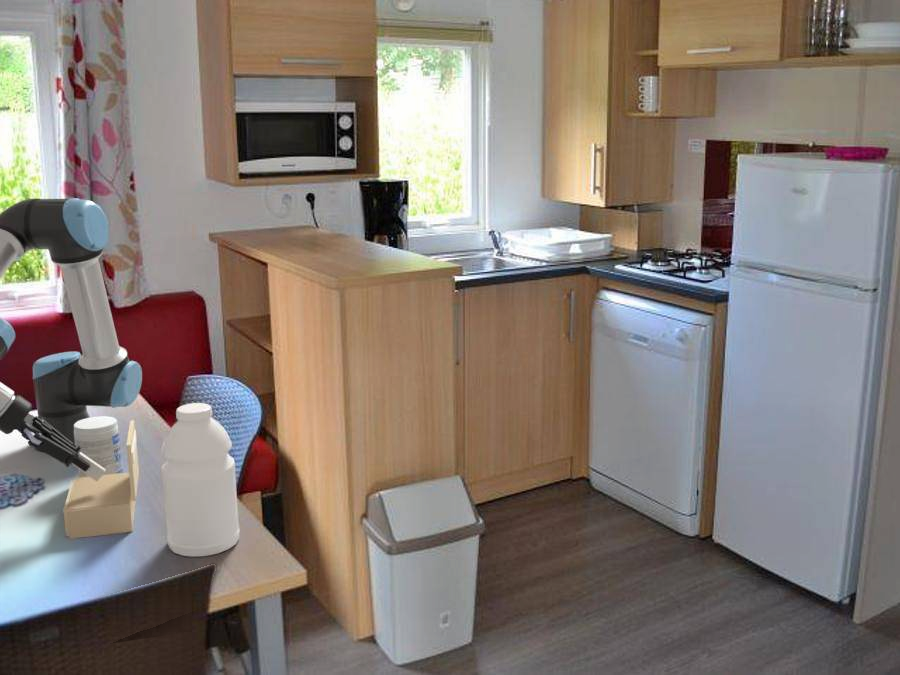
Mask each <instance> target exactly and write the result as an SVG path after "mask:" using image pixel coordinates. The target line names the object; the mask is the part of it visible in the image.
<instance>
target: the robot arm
mask: <svg viewBox="0 0 900 675" xmlns="http://www.w3.org/2000/svg"><path fill="white" fill-rule="evenodd" d="M109 232H110V228H109V222H108V219H107V217H106V213H105V212H104V211H103V209H102V208H101V207H100V205H99V204H97V203H95V202H94V201H92V200H89V199H80V198H77V197H76V198H75V197H73V198H28V199H24V200H21V201H19V202H16V203H14V204H13V205H11V206H9V207H8V208H6V209H5V210H3V211H2V212H1V213H0V280H1V279H2V277H3V276H4V275H5V273H7V272H6V271H7V270H8V269H9V267H10V266H11V265H12V263H13V262H17V261H19V260H20V259H21V258H23V256H24V255H25V253H27V252H30V251H32V250H47V251H48V252H49V256H50V259H51V262H52V263H54V264H55V265H56V266H59V267H60V271H61V273H62V274H61V275H62V278H63V282H64V286H65V290H66V294H67V296H68V297H67V298H68V301H69V304H70V308H71V313H72V317H73V320H74V324H75V328H76V332H77V336H78V340H79V344H80V347H81V351H82V354H81V353H80V351H64V352H59V353H53V354H50V355H47V356H43V357H40V358H39V359H37V360H36V361H34V362H33V365H32V380H33V387H34V394H35V402H36V409H37V410H36V411H37V416H34V415H32V414H31V413H30V412H31V411H32V408H33V404H32V403H31V402H29V400H27V399H25V398H24V397H23V396H21V395H20V394H16V395H15V391H14V390H13V389H12V388H10V387H9V386H7V385H6V384H4V383H3V382H1V381H0V432H2V433H4V434H5V435H9V434H11V433H13V432H14V430H16V431H18V432H19V433H20V434H21V437H22V438H23V439H25V440H27V441H28V442H27V444H28V445H29V446H30V447H33V448H34V449H35V450H37V451H39V452H43V453H44V454H47V455H48V456H50V457H52V458H53V459H55V460H57V461H59V462H61V463H62V464H63V465H65V467H66V468H69V467H70V466H71V465H72V466H73V467H74V468H76V469H77V470H78V469H79V470H80V471H82V472H83V473H85V474H86V475H88V476H89V477H91V478H92V479H94V480H95V481H98V480H99V479H100V478H101V476H102V475H103V474H104V473H105V472H106V469H105V468H103V467H102V466H100V465H99V464H97V463H96V462H94V461H93V460H92V459H90V458H89V457H87V456H86V455H84V454H83V453H81V452H79V450H80V449H81V447H80V446H78V447H77V448H76V445H75V439H74V424H75V423H76V422H78V421H80V420H82V419H86V418H90V417H91V416H90V414H89V413H88V408H87V406H88V407H108V408H109V407H110V408H112V409H114V408H126V407H129V406H131V405H133V403H134V402H135V401H136V400H137V397H138V396H139V394H140V391H141V387H142V382H143V371H142V367H141V365H140V363H138V362H137V361H134V360H130V359H129V355H128V351H127V349H126V348H124V347H122V346H120V345H119V341H118V340H119V339H118V337H117V331H116V328H115V325H114V323H115V322H114V319H113V315H112V311H111V306H110V302H109V298H108V294H107V290H106V285H105V281H104V277H103V273H102V268H101V265H100V264H101V263H100V261H99V260H100V258H101V256H102V255H103V253H104V248H105V247H106V245H107V244H108V241H109ZM15 339H16V331H15V330H14V328H13V326H12V325H11V323H9V321H7V320H6V319H4V318H3V317H0V361H1V360H2V359H3V358H4V356H5V355H6V354H7V353H8V352H9V350H10V348H11V346H12V344H13V343H14V341H15ZM78 452H79V453H78Z"/></svg>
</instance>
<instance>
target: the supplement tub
mask: <svg viewBox="0 0 900 675" xmlns="http://www.w3.org/2000/svg"><path fill="white" fill-rule="evenodd" d="M74 439H75V445H76V448H77V447H78V446H80V447H81V449H80V450H79V452H81V453H83V454H84V455H86V456H87V457H89V458H90V459H92V460H93V461H94V462H96V463H97V464H99V465H100V466H102V467H103V468H105V469H106V472H105V473H104V474H103V475H108V474H118V473H124V470H123V460H122V459H123V458H122V452H121V440H120V432H119V425H118V420H117V418H115V417H113V416H107V415H106V416H105V415H104V416H101V415H99V416H98V415H97V416H92V417H91V416H90V418H86V419H82V420H80V421H78V422H76V423H75V424H74ZM79 452H78V453H79ZM77 471H78V478H80V477H89V476H88V475H86V474H85V473H83V472H82V471H80V470H79V469H78V468H77Z"/></svg>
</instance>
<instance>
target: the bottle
mask: <svg viewBox="0 0 900 675" xmlns="http://www.w3.org/2000/svg"><path fill="white" fill-rule="evenodd" d="M175 415H176V417H175V418H176V420H177V421H176V422H175V423H174V424H173V425H172V427H171V428H170V429H169V431H168V432H167V433H166V435H165V437H164V439H163V442H162V447H161V455H162V456H163V457H165V459H167V460H166V461H165V462H164V463H163V464H162V465H161V477H162V487H163V498H164V508H165V519H166V528H167V530H166V531H167V533H166V535H167V536H166V539H167V544H168V548H169V549H170V550H171V551H172V552H173V553H174V554H177V555H179V556H184V557H192V558H193V557H194V558H195V557H207V556H213V555H217V554H220V553H223V552H224V551H227V550H229V549H231V548H233V547H234V546H236V545H237V543H238V541H239V539H240V535H241V534H240V532H241V530H240V525H239V524H240V523H239V512H238V511H239V510H238V509H239V508H238V495H237V494H238V493H237V492H238V491H237V479H236V478H237V477H236V475H237V474H236V463H235V462H236V461H235V459H234V457H232V456H231V455H230V454H229V452H230V450H231V449H232V448H233V443H232V440H231V438H230V436H229V433H228V432H227V430H226V429H225V428H224V426H222V424H221V423H219V422H218V421H217V420H216V419H215V418H213V409H212V406H211V405H210V404H207V403H203V402H192V403H187V404H183V405H180V406H179V407H177V408H176V411H175Z"/></svg>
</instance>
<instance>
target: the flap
mask: <svg viewBox="0 0 900 675" xmlns="http://www.w3.org/2000/svg"><path fill="white" fill-rule="evenodd" d="M128 427H129V428H128V432H127V438H126V439H127V440H126V446H125V447H126V456H127V457H126V458H127V466H128V467H127V468H128V472H129V478H130V488H131V499H132V501H136V502H137V494H138V484H139V477H140V471H139V470H140V468H139V457H138V456H139V455H138V447H137V440H138V439H137V430H136V426H135V420H134V419H131V420H129V426H128Z"/></svg>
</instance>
